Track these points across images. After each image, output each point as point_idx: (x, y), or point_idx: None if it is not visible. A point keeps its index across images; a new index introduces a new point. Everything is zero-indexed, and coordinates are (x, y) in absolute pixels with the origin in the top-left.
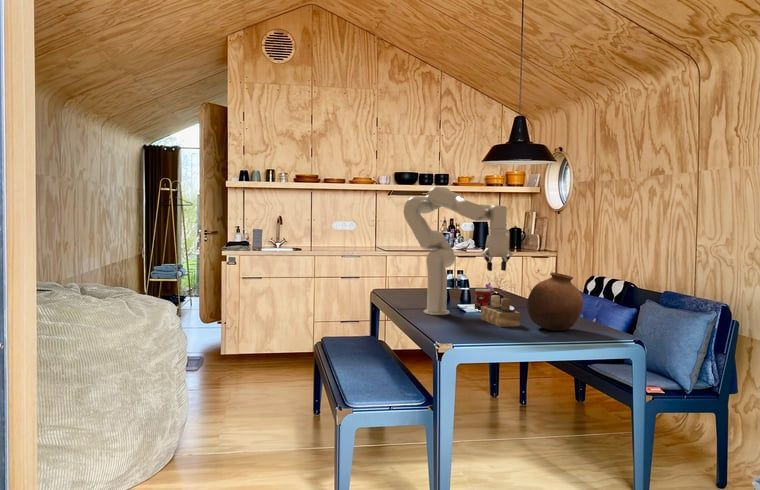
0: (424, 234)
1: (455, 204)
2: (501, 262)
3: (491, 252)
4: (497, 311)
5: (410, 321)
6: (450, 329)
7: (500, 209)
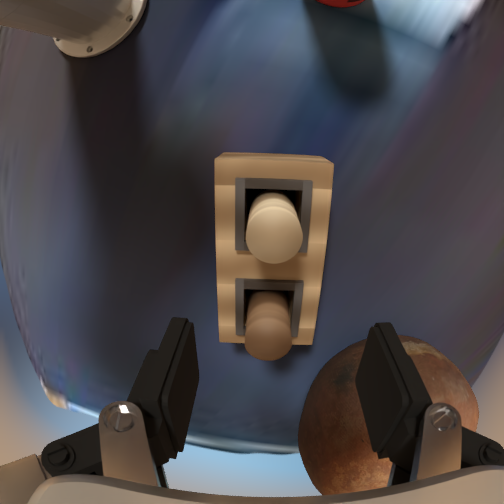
0: None
1: None
2: (400, 400)
3: None
4: (230, 305)
5: None
6: (65, 302)
7: None
